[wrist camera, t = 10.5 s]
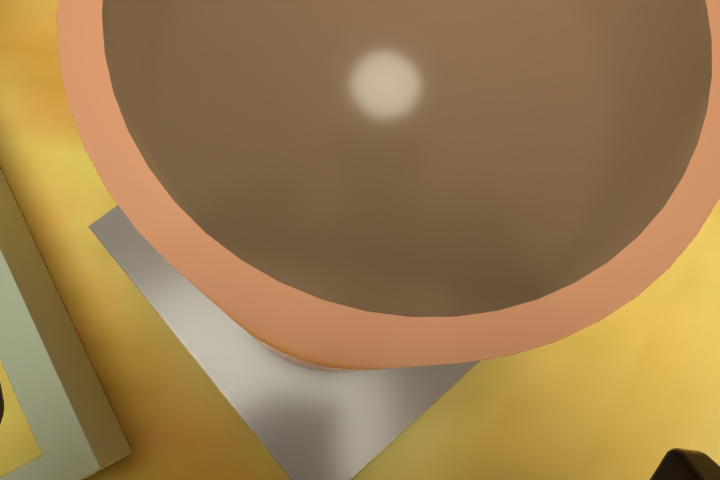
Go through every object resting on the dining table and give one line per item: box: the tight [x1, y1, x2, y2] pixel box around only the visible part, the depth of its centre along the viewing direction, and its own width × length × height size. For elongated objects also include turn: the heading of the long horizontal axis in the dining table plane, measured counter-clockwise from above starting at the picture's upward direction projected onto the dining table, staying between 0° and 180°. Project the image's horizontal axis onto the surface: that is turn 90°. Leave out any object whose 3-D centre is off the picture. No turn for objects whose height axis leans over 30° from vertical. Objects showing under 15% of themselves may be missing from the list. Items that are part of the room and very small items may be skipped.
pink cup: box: [56, 0, 720, 372], centre depth 12 cm, size 7×7×12 cm
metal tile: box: [89, 205, 480, 480], centre depth 19 cm, size 10×10×1 cm
